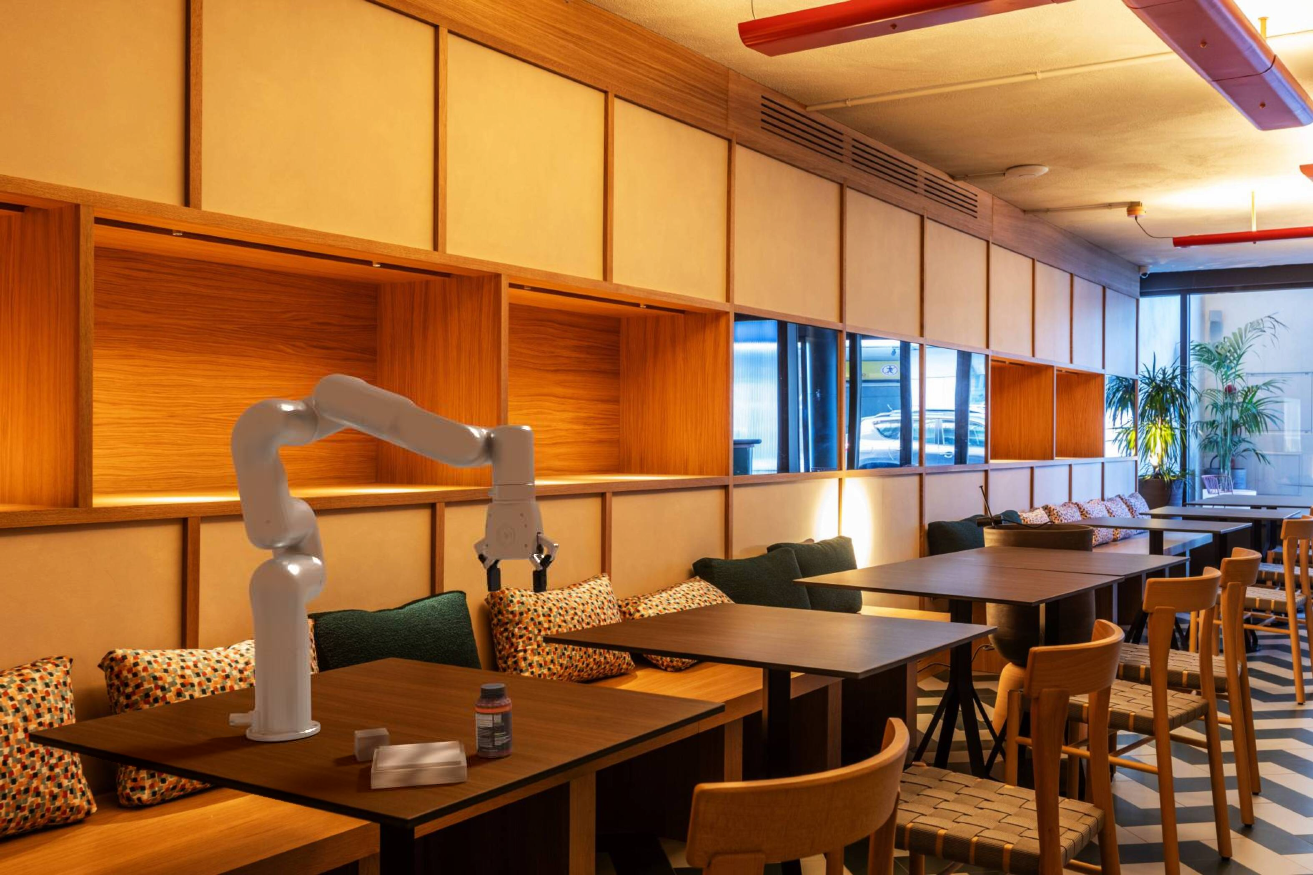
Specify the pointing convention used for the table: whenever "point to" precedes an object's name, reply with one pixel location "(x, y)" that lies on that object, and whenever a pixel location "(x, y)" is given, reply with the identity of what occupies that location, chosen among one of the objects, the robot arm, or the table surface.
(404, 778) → the stand
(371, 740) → the beige block
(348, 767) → the table surface
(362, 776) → the table surface
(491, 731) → the supplement bottle
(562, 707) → the table surface
